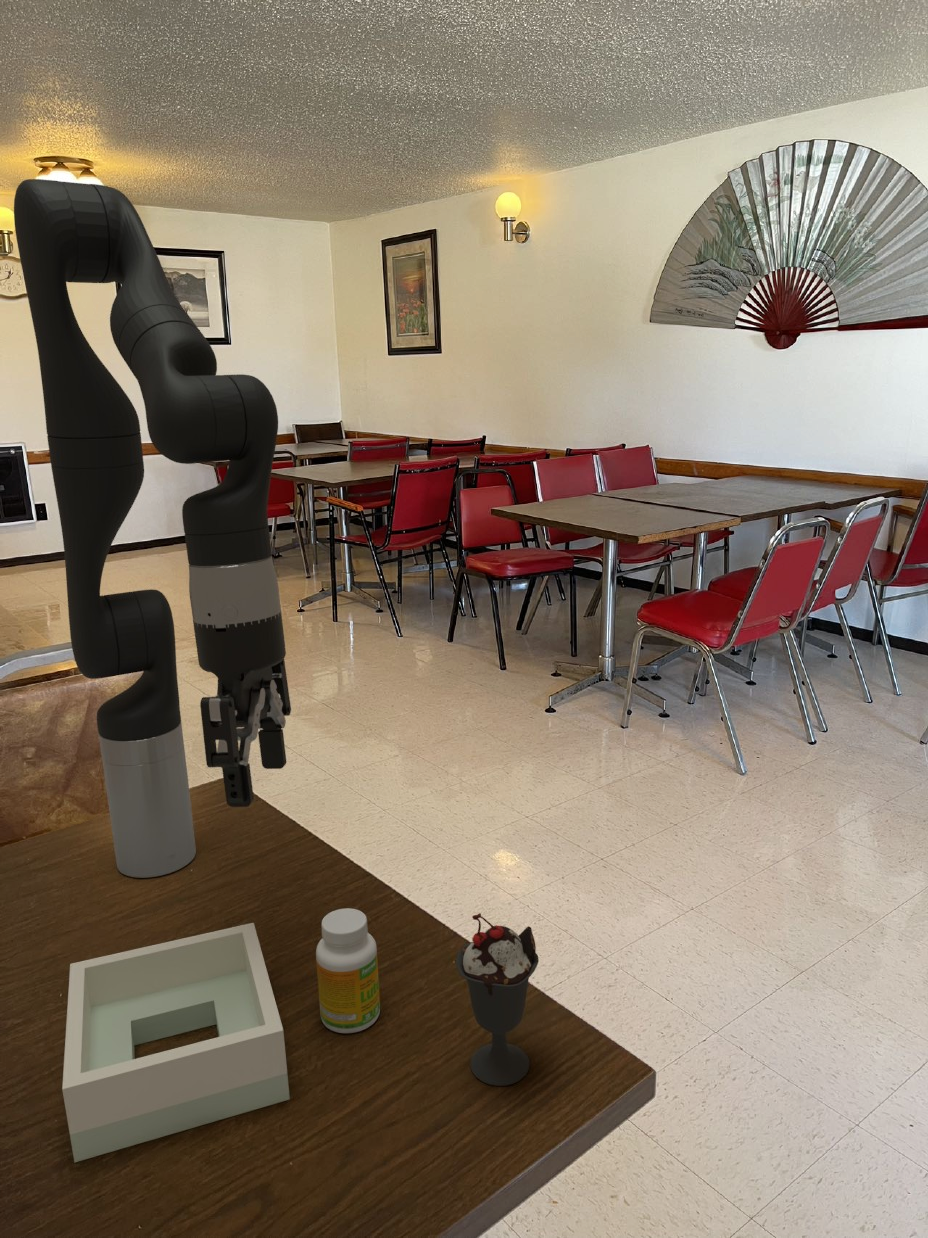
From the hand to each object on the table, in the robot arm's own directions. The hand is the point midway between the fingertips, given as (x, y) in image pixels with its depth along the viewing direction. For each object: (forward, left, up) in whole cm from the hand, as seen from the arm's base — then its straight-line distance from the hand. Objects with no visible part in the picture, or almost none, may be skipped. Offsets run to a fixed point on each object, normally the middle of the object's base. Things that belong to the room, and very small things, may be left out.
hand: (258, 785), depth 83 cm
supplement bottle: (+8, +5, -21) cm, 23 cm away
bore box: (+8, -10, -20) cm, 24 cm away
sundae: (+19, +15, -21) cm, 32 cm away
